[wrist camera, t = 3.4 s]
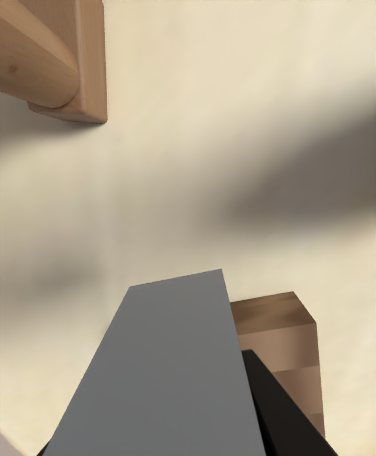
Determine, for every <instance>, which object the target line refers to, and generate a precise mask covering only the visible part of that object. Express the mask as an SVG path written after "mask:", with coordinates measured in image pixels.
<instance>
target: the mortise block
mask: <svg viewBox="0 0 376 456" xmlns="http://www.w3.org/2000/svg"><path fill="white" fill-rule="evenodd" d="M230 307H231V311H232V315H233V319H234V323H235V328H236V332H237V336H238V340H239V344H240V349H241V350H245V349H252V350H253V351H254V352H255V353H256V354H257V355H258V357H259V358H260V359H261V360H262V362H263V363H264V364H265V365H266V367H267V368H268V369H269V370H270V372H271V373H272V374H273V375H274V376H275V378H276V379H277V380H278V381H279V383H280V384H281V385H282V386H283V388H284V389H285V390H286V391H287V393H288V394H289V395H290V396H291V398H292V399H293V400H294V401H295V402H296V404H297V405H298V406H299V407H300V409H301V410H302V411H303V412H304V414H305V415H306V416H307V417H308V419H309V420H310V421H311V422H312V424H313V425H314V426H315V427H316V429H317V430H318V431H319V432H320V433H321V435H322V436H323V437H324V438H325V429H324V416H323V403H322V390H321V377H320V364H319V351H318V338H317V325H316V322H315V320H314V319H313V318H312V316H311V315H310V314H309V312H308V311H307V309H306V308H305V307H304V305H303V304H302V303H301V301H300V300H299V299H298V297H297V296H296V294H295V293H294V292H288V293H283V294H277V295H271V296H266V297H260V298H254V299H249V300H243V301H237V302H232V303H230Z"/></svg>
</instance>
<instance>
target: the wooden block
mask: <svg viewBox="0 0 376 456" xmlns="http://www.w3.org/2000/svg"><path fill="white" fill-rule="evenodd" d="M0 92H3V93H6V94H9V95H12V96H15V97H18V98H21V99H23V100H26V101H27V103H28V107H29V109H30V110H32V111H34V112H37V113H40V114H44V115H47V116H51V117H54V118H58V119H61V120H67V121H80V122H93V123H105V122H107V92H106V62H105V33H104V5H103V3H102V0H0Z"/></svg>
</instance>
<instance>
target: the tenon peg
mask: <svg viewBox="0 0 376 456" xmlns="http://www.w3.org/2000/svg"><path fill="white" fill-rule="evenodd" d="M43 456H266V454H265V450H264V446H263V441H262V437H261V433H260V429H259V425H258V420H257V416H256V412H255V408H254V404H253V399H252V395H251V391H250V387H249V382H248V378H247V374H246V370H245V366H244V361H243V357H242V353H241V349H240V344H239V340H238V336H237V332H236V328H235V323H234V319H233V315H232V311H231V307H230V302H229V298H228V294H227V290H226V285H225V281H224V277H223V273H222V269H218V270H213V271H208V272H203V273H198V274H192V275H187V276H182V277H177V278H172V279H167V280H162V281H157V282H152V283H146V284H141V285H136V286H131V287H129V289H128V291H127V293H126V295H125V297H124V299H123V301H122V303H121V305H120V306H119V308H118V310H117V312H116V314H115V316H114V318H113V320H112V322H111V324H110V326H109V328H108V330H107V332H106V334H105V336H104V337H103V339H102V341H101V343H100V345H99V347H98V349H97V351H96V353H95V355H94V357H93V359H92V361H91V363H90V365H89V367H88V368H87V370H86V372H85V374H84V376H83V378H82V380H81V382H80V384H79V386H78V388H77V390H76V392H75V394H74V396H73V398H72V399H71V401H70V403H69V405H68V407H67V409H66V411H65V413H64V415H63V417H62V419H61V421H60V423H59V425H58V427H57V429H56V430H55V432H54V434H53V436H52V438H51V440H50V442H49V444H48V446H47V448H46V450H45V452H44V454H43Z"/></svg>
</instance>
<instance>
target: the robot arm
mask: <svg viewBox="0 0 376 456" xmlns="http://www.w3.org/2000/svg"><path fill="white" fill-rule="evenodd" d="M241 353H242V357H243V361H244V366H245V370H246V374H247V378H248V382H249V387H250V391H251V395H252V399H253V404H254V408H255V412H256V416H257V420H258V425H259V429H260V433H261V437H262V441H263V446H264V450H265V454H266V456H338V455H337V453H336V452H335V451H334V450H333V448H332V447H331V446H330V445H329V443H328V442H327V441H326V440H325V438H324V437H323V436H322V435H321V433H320V432H319V431H318V430H317V429H316V427H315V426H314V425H313V424H312V422H311V421H310V420H309V419H308V417H307V416H306V415H305V414H304V412H303V411H302V410H301V409H300V407H299V406H298V405H297V404H296V402H295V401H294V400H293V399H292V398H291V396H290V395H289V394H288V393H287V391H286V390H285V389H284V388H283V386H282V385H281V384H280V383H279V381H278V380H277V379H276V378H275V376H274V375H273V374H272V373H271V372H270V370H269V369H268V368H267V367H266V365H265V364H264V363H263V362H262V360H261V359H260V358H259V357H258V355H257V354H256V353H255V352H254V351H253V350H252V349H245V350H241ZM50 440H51V439H50ZM49 442H50V441H49ZM49 442H48V443H47V444H46V445H45V446H44V448H43V449H42V450H41V451H40V452H39V453H38V455H37V456H43V454H44V452H45V450H46V448H47V446H48V444H49Z"/></svg>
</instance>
